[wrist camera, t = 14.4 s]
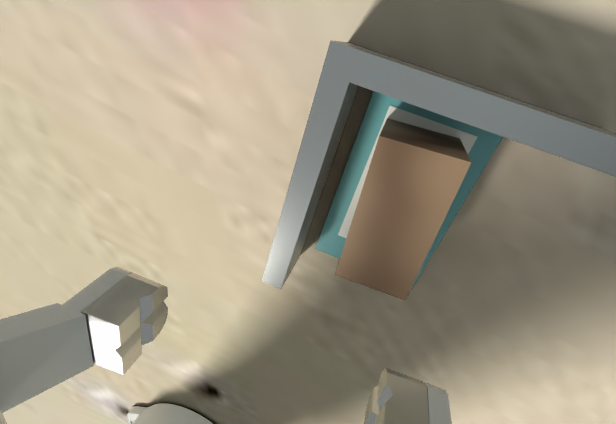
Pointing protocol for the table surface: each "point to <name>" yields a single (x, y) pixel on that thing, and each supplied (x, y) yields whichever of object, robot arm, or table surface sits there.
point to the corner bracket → (419, 112)
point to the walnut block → (402, 206)
